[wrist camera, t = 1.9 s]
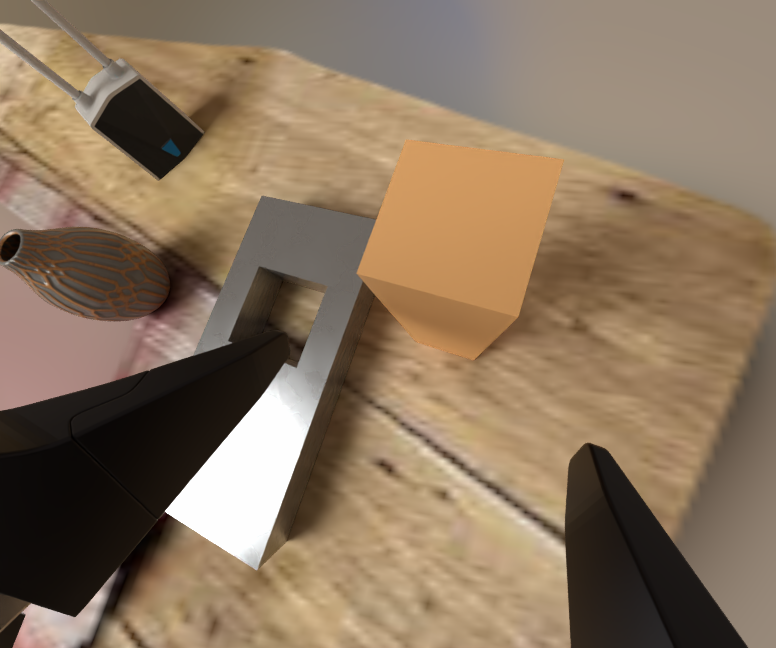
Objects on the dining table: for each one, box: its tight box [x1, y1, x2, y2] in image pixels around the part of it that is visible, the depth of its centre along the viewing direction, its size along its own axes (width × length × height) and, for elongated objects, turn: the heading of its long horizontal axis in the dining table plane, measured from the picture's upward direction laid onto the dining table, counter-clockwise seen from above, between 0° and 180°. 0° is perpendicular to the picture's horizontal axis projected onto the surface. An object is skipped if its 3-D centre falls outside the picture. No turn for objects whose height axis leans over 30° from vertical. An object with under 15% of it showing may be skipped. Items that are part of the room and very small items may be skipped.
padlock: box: [0, 0, 205, 181], centre depth 22 cm, size 7×4×15 cm, turn 135°
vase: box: [0, 227, 170, 321], centre depth 22 cm, size 7×7×9 cm
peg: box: [356, 140, 564, 360], centre depth 13 cm, size 4×4×13 cm
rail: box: [165, 196, 376, 570], centre depth 20 cm, size 22×10×3 cm, turn 160°
